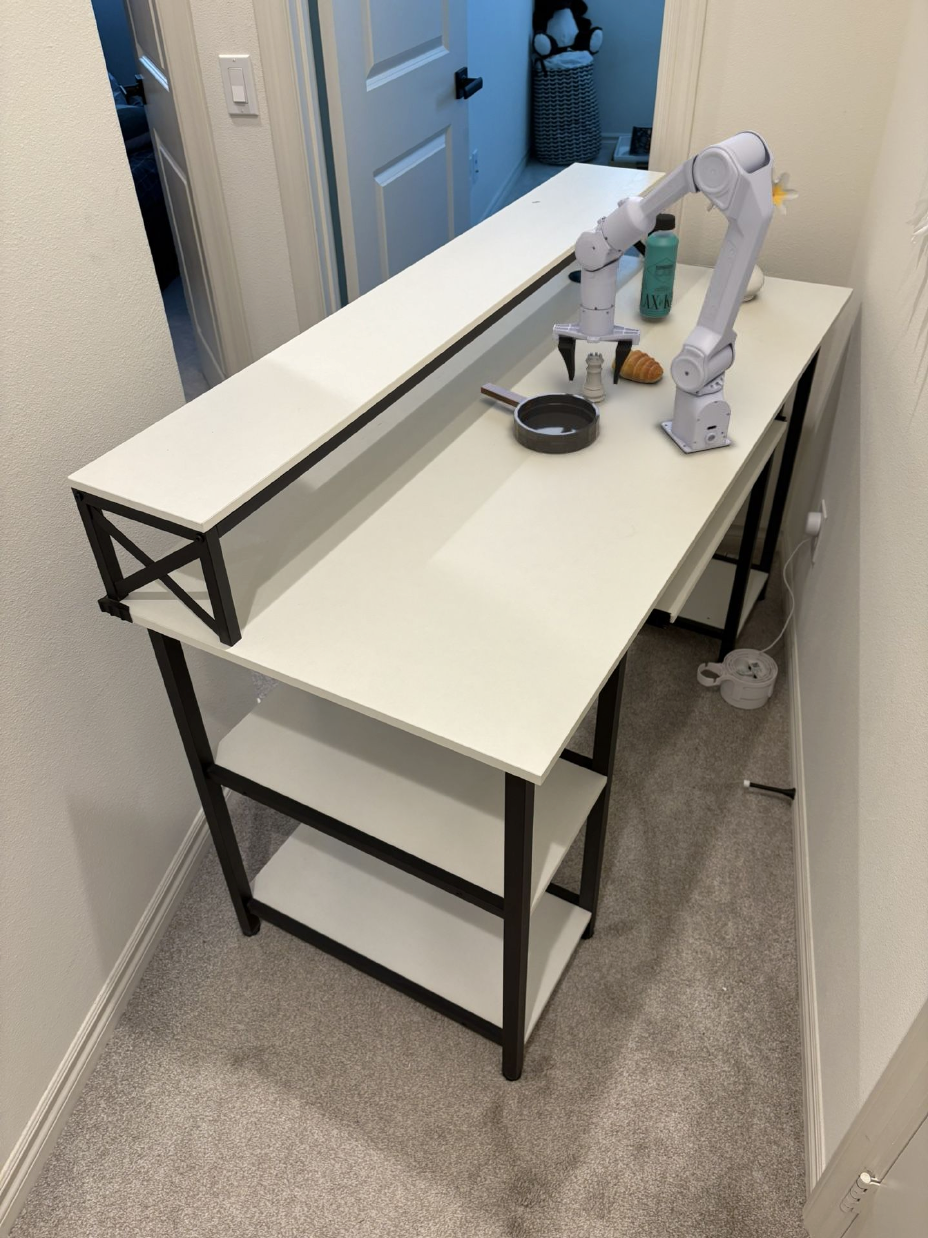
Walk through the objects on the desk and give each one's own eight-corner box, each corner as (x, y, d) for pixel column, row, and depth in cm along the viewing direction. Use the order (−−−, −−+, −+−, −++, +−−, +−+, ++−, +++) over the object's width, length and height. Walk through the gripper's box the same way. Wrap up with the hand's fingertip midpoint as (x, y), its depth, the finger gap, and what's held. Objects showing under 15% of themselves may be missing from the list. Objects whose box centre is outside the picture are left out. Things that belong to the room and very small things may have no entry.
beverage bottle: (631, 316, 182) (640, 213, 169) (659, 309, 184) (669, 207, 171) (649, 327, 178) (659, 223, 164) (677, 320, 179) (689, 216, 166)
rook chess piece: (585, 405, 155) (587, 362, 150) (576, 394, 158) (577, 351, 153) (609, 401, 156) (612, 358, 151) (599, 390, 159) (602, 347, 154)
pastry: (671, 375, 162) (673, 356, 159) (648, 389, 158) (650, 369, 156) (629, 361, 167) (631, 341, 164) (606, 374, 164) (608, 354, 161)
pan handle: (531, 406, 151) (531, 399, 151) (523, 410, 150) (523, 404, 150) (489, 388, 157) (489, 382, 156) (480, 392, 156) (480, 386, 155)
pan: (611, 445, 145) (612, 425, 143) (529, 460, 143) (529, 441, 140) (580, 406, 155) (581, 387, 153) (503, 419, 153) (503, 400, 150)
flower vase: (703, 278, 195) (719, 154, 178) (787, 292, 187) (813, 163, 170) (681, 300, 187) (696, 171, 170) (768, 315, 179) (793, 182, 162)
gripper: (549, 310, 144) (548, 387, 153) (639, 315, 141) (632, 393, 150) (557, 293, 150) (555, 369, 159) (644, 298, 146) (637, 374, 155)
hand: (593, 379), depth 155 cm, fingers open, 7 cm apart
